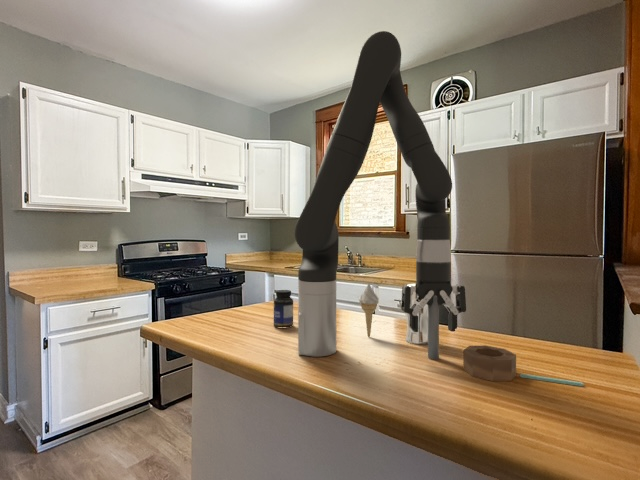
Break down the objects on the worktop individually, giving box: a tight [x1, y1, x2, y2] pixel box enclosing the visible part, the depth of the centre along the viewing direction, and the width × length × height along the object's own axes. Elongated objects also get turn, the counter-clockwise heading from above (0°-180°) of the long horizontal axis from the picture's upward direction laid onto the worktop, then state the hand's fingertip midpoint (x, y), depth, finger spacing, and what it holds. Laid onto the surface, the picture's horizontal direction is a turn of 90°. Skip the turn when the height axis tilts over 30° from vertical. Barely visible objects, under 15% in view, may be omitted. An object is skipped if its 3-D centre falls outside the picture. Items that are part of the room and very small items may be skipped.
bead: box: [462, 344, 517, 382], centre depth 71 cm, size 9×9×4 cm
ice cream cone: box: [358, 282, 380, 338], centre depth 96 cm, size 6×6×15 cm
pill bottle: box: [273, 289, 294, 328], centre depth 109 cm, size 6×6×11 cm
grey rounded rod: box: [427, 295, 440, 361], centre depth 79 cm, size 2×2×15 cm
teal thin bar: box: [519, 373, 584, 387], centre depth 66 cm, size 10×1×1 cm, turn 64°
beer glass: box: [404, 282, 428, 346], centre depth 92 cm, size 7×7×15 cm
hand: (433, 331), depth 79 cm, fingers open, 8 cm apart
